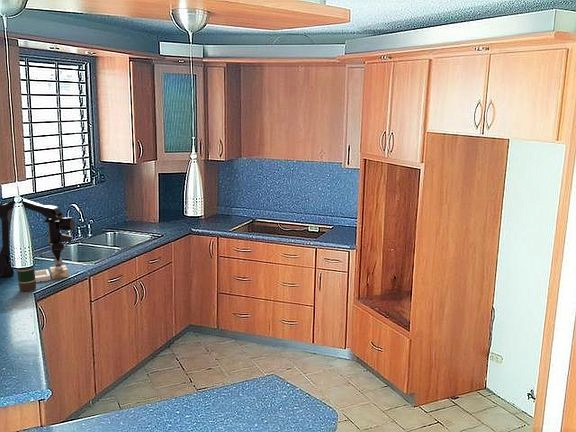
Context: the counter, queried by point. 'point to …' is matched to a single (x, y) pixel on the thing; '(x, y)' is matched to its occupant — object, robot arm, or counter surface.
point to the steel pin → (58, 263)
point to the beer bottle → (26, 279)
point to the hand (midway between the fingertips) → (57, 258)
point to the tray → (42, 275)
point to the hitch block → (59, 272)
